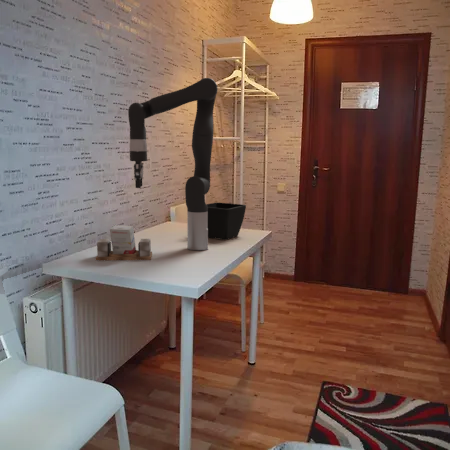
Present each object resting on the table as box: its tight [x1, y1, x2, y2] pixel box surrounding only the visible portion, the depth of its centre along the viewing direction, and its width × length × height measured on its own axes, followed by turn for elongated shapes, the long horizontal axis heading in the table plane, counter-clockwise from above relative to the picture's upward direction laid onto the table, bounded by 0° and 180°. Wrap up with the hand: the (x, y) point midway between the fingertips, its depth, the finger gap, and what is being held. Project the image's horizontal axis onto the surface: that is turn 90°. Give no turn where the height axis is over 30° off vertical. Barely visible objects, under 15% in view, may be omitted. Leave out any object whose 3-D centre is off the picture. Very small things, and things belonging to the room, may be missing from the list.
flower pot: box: [206, 201, 247, 241], centre depth 232 cm, size 19×19×17 cm
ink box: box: [109, 224, 137, 254], centre depth 183 cm, size 9×5×12 cm, turn 80°
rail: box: [95, 238, 153, 262], centre depth 185 cm, size 22×10×7 cm, turn 96°
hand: (139, 187), depth 197 cm, fingers open, 8 cm apart
